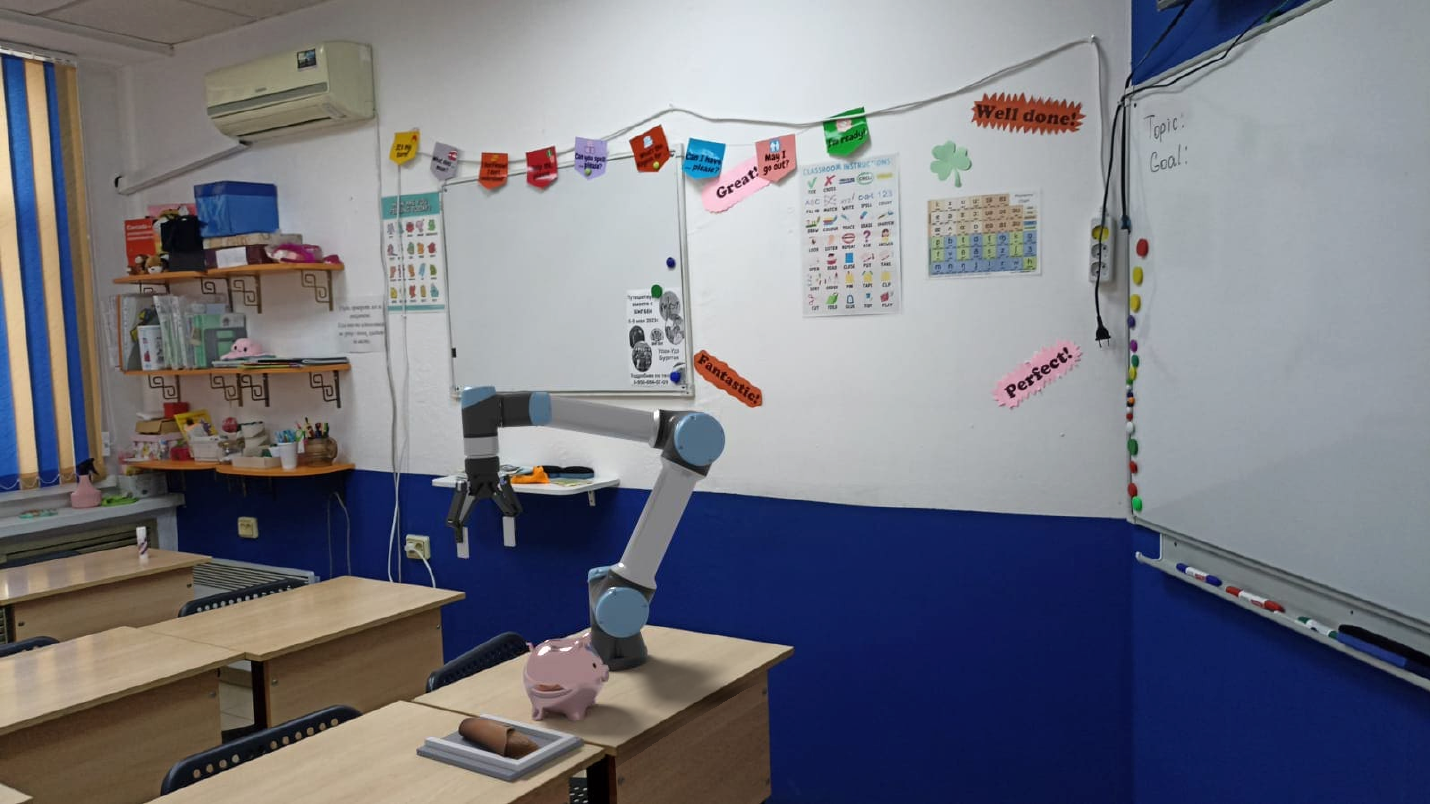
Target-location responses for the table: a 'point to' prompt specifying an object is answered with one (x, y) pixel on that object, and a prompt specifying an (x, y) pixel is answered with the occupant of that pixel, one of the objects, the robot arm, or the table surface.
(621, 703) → the table surface
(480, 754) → the rail cradle
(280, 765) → the table surface
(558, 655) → the piggy bank
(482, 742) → the sunglasses case
